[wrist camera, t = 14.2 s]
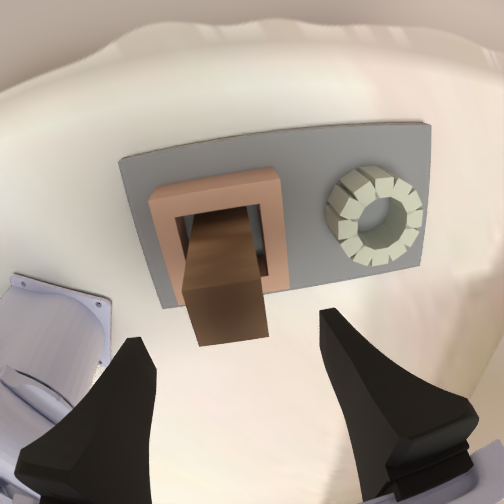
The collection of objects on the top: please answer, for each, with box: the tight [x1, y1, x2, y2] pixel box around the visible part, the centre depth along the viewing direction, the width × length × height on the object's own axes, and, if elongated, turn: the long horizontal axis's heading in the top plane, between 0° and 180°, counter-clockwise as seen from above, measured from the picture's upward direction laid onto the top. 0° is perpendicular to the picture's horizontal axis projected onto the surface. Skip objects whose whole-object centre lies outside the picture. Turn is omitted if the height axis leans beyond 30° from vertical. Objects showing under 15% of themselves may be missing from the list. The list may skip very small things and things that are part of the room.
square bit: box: [181, 206, 269, 347], centre depth 17 cm, size 3×3×8 cm
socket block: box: [118, 123, 431, 309], centre depth 20 cm, size 20×11×4 cm, turn 97°
